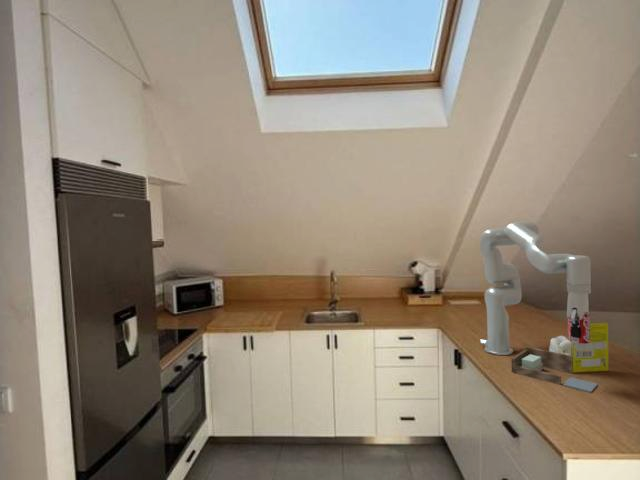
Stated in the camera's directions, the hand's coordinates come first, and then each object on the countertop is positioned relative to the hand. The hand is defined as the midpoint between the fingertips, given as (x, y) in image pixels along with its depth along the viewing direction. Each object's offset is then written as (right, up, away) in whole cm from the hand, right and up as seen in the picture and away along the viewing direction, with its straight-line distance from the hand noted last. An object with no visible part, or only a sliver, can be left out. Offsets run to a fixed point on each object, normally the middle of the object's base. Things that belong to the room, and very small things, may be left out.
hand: (579, 334), depth 145 cm
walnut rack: (-6, -19, +14) cm, 25 cm away
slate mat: (+1, -20, +1) cm, 20 cm away
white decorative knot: (+14, -18, +30) cm, 38 cm away
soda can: (0, -3, 0) cm, 3 cm away
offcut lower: (-9, -20, +16) cm, 27 cm away
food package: (+14, -19, +13) cm, 27 cm away
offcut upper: (-9, -17, +16) cm, 25 cm away
